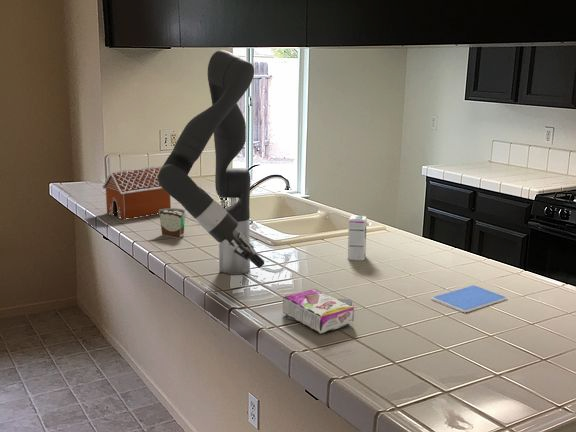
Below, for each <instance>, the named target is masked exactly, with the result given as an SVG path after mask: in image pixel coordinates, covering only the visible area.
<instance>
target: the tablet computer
mask: <svg viewBox="0 0 576 432" xmlns="http://www.w3.org/2000/svg"><path fill="white" fill-rule="evenodd" d="M431 300H432V301H433V302H435V301H436V302H435V303H437V302H438V304H440V303H441V304H440V305H442V304H443V306H445V307H447V306H448V307H447V308H450V307H451V308H450V309H452V308H454V309H453V310H455V309H456V310H455V311H457V310H459V311H458V312H460V311H461V312H460V313H462V312H464V314H465V313H466V312H467V313H469V312H473V311H475V310H479V309H482V308H484V307H488V306H491V305H493V304H494V303H495V304H498V303H501V302H505V301H507V300H508V297H506V296H504V295H501V294H500V293H496V292H493V291H491V290H488V289H486V288H483V287H481V286H477V285H470V286H466V287H463V288H459V289H455V290H452V291H449V292H446V293H442V294H438V295H435V296H432V297H431ZM504 300H505V301H504ZM467 313H466V314H467Z"/></svg>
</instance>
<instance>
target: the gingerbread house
mask: <svg viewBox="0 0 576 432" xmlns="http://www.w3.org/2000/svg"><path fill="white" fill-rule="evenodd" d="M162 166H163V165H157V166H154V165H153V166H145V167H141V168H129V169H125V168H124V169H121V170H115V171H112V172H109V174H108V175H107V177H106V179H105V180H104V182H103V184H102V186H101V187H102V189H103V190H104V189H105V198H106V199H105V200H106V213H110V214H112V215H113V214H115V215H116V213H115V212H117V211H118V212H117V218H118V217H121V218H123V219H126V218H134V217H139V218H141V217H140V216H145V217H147V216H146V215H151V214H157V213H159V210H160V209H166V208H172V204H171V203H172V201H171V198H172V197H171V195H170V194H168V193H167V192H166V191H165V190H164V189H163V188H162V187H161V186H160V184H159V182H158V173H159V171H160V169H161V168H162ZM110 214H109V215H110ZM112 215H111V216H112ZM157 215H158V214H157ZM151 216H152V215H151ZM123 219H122V220H123ZM134 219H135V218H134Z"/></svg>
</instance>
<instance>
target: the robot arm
mask: <svg viewBox="0 0 576 432" xmlns="http://www.w3.org/2000/svg"><path fill="white" fill-rule="evenodd" d="M254 76H255V69H254V65H253V64H252V63H251V62H250V61H249V60H246V59H244V58H243V57H240V56H239V55H237V54H234V53H232V52H230V51H227V50H224V49H223V50H222V49H219V50H216V51H215V52H214V53H213V54H212V55H211V56H210V58H209V61H208V64H207V82H208V88H209V93H210V98H211V99H210V100H211V106H210V107H208V108H207V109H205V110H203V111H201V112H200V113H198V114H197V115H195V116H193V118H191V119H190V120H189V122H188V123H186V125H185V126H184V129H182V131H181V133H180V135H179V137H178V138H177V140H176V142H175V145H174V147H173V150H172V151H171V152H170V154H169V155H168V157H167V159H166V160H165V162H164V163H163V165H161V166H162V168H161V169H160V171H159V173H158V182H159V184H160V186H161V187H162V188H163V189H164V190H165V191H166V192H167V193H168V194H170V197H171V198H173V199H174V200H175V201H177V202H178V203H179V204H180V205H181V206H182V208H184V209H185V211H187V212H188V214H190V215H191V217H193V219H195V221H196V222H197V223H198V224H199V225H200V226H201V227H202V229H204V230H205V231H206V232H207V233H208V234H209V235H210V236H211V237H212V238H213V239H215V241H216V242H218V254H219V255H218V256H219V257H218V262H219V263H218V266H219V269H218V270H219V272H220V273H223V274H227V275H242V274H246V273H248V272H249V271H250V269H251V268H250V267H251V263H250V262H252V263H253V265H255V266H256V267H257V268H259V269H260V268H262V267H263V266H264V265H265V260H264V259H263V258H262V257H261V256H260V255H259V254H258V253H257V252H256V250H255V249H254V246H253V245H252V243H251V242H250V241H251V235H250V231H251V230H250V224H251V223H250V219H251V218H250V216H251V215H250V196H251V195H250V193H251V173H250V170H249V169H248V168H246V167H245V168H238V167H237V168H235V167H234V168H233V167H231V168H229V166H230V163H231V162H232V161H233V160H234V159H235V158H236V156H238V155H239V153H241V151H242V150H243V148H244V146H245V145H246V140H247V133H246V132H247V125H246V120H245V117H244V114H243V113H242V111H241V108H240V106H239V105H238V102H239V101H240V99H241V98H242V97H243V96H244V95H245V93H246V92H247V90H248V89H249V87H250V86H251V84H252V82H253V79H254ZM212 136H213V142H214V152H215V176H214V178H215V179H214V182H215V184H214V185H215V192H216V194H217V196H218V197H220V198H226V199H236V198H237V199H239V200H238V201H237V202H236V203H234V204H231V205H229V206H226V207H224V206H222V205H221V204H220V203H219V202H217V201H216V200H214V198H212V197H211V196H210V194H208V192H206V191H205V190H204V189H202V188H201V187H200V186H198V184H197V183H196V182H195V181H194V180H193V179H192V178H191V177H190V176H189V174H190V171H191V169H192V168H193V166H194V164H195V163H196V162H197V160H199V158H200V157H201V155H202V153H203V151H204V149H206V146H207V145H208V142H209V141H210V139H211V137H212Z"/></svg>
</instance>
